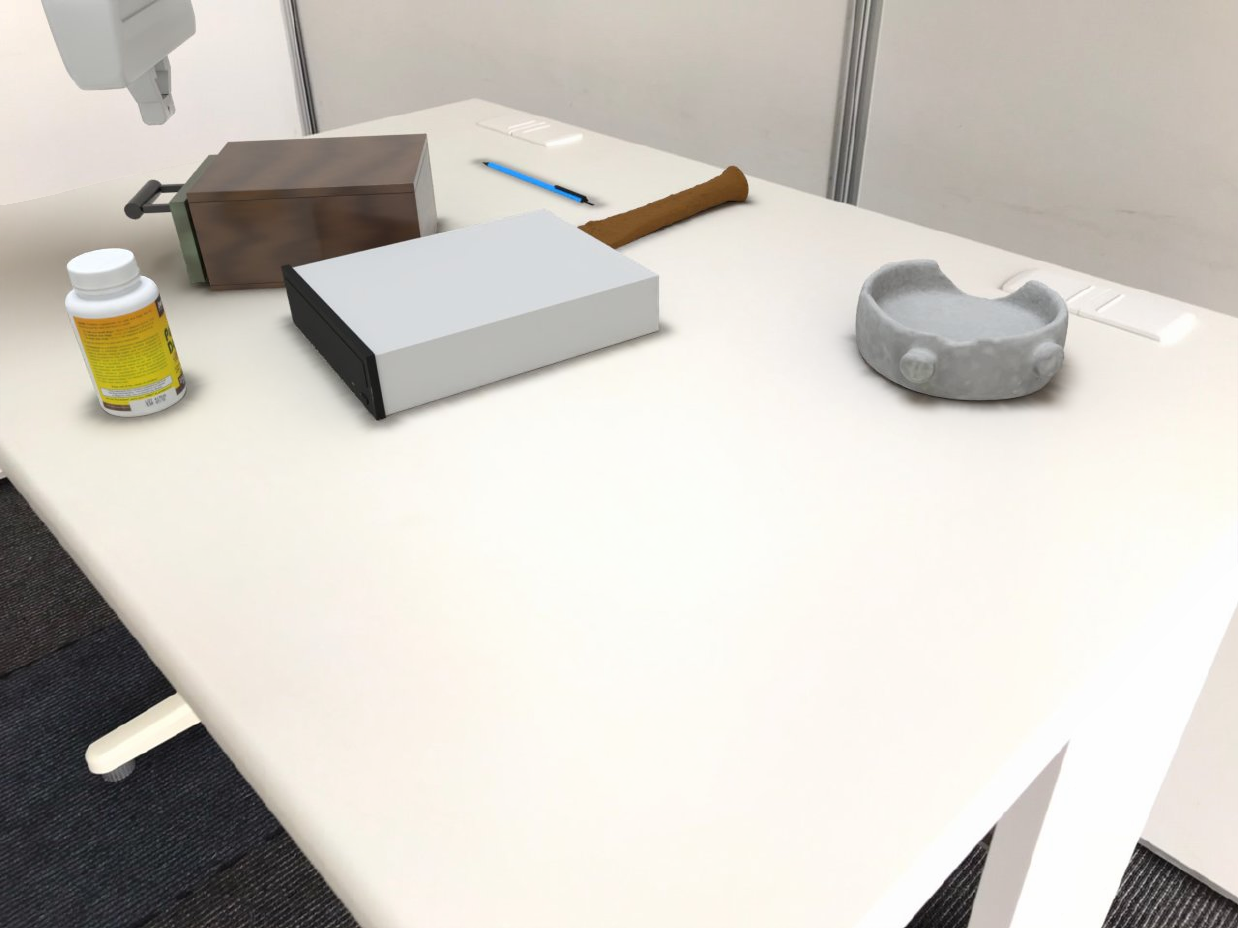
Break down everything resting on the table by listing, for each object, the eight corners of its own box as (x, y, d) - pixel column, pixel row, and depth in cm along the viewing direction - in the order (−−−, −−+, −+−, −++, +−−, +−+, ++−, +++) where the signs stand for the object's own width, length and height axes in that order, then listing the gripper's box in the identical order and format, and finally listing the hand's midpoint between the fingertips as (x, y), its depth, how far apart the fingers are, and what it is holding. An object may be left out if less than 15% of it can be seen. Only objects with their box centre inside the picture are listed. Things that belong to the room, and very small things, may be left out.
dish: (855, 310, 78) (862, 249, 76) (1043, 325, 76) (1058, 262, 73) (847, 403, 67) (855, 336, 64) (1069, 425, 64) (1088, 355, 61)
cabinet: (212, 295, 83) (185, 193, 78) (249, 234, 94) (227, 141, 90) (427, 284, 84) (413, 182, 79) (438, 225, 95) (426, 133, 91)
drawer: (129, 286, 83) (104, 205, 79) (172, 230, 93) (152, 157, 89) (392, 272, 84) (380, 193, 80) (406, 219, 94) (396, 146, 90)
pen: (590, 212, 98) (589, 200, 98) (478, 168, 110) (477, 157, 110) (597, 209, 99) (596, 198, 98) (485, 166, 111) (484, 155, 110)
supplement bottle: (200, 402, 69) (159, 261, 63) (116, 431, 66) (65, 285, 60) (173, 372, 72) (131, 236, 66) (91, 398, 69) (41, 258, 64)
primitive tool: (600, 256, 88) (599, 217, 86) (562, 239, 92) (560, 202, 90) (753, 205, 98) (755, 169, 96) (714, 192, 102) (715, 157, 100)
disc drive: (292, 326, 78) (278, 265, 75) (546, 259, 88) (542, 204, 85) (375, 425, 66) (363, 357, 63) (660, 335, 76) (660, 273, 73)
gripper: (110, -86, 82) (159, 89, 90) (5, -51, 65) (75, 161, 73) (189, -89, 83) (230, 86, 90) (104, -55, 66) (164, 156, 74)
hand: (160, 120), depth 82 cm, fingers closed
